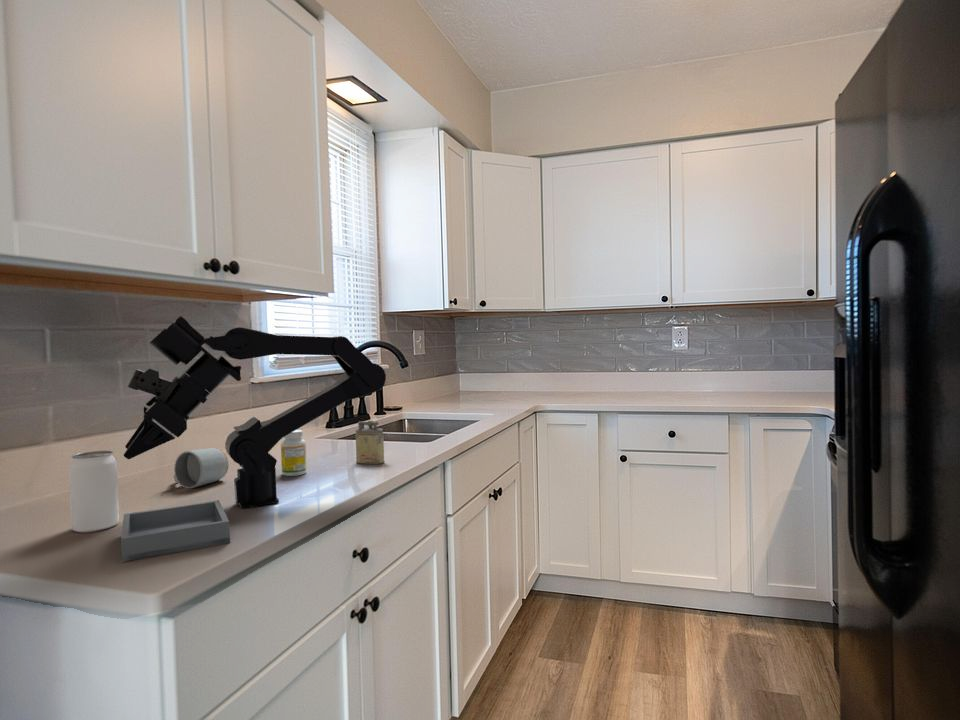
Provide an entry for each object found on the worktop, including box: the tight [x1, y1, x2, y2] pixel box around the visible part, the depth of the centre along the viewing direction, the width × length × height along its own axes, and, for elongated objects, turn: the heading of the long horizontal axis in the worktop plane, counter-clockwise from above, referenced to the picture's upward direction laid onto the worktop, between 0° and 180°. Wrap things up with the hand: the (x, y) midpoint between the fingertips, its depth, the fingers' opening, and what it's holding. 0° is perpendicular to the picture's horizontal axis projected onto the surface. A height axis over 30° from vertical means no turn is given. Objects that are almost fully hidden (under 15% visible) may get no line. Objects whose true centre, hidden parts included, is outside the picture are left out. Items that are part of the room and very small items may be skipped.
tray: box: [120, 500, 231, 563], centre depth 88 cm, size 14×14×3 cm
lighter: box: [355, 420, 385, 465], centre depth 140 cm, size 7×4×10 cm, turn 74°
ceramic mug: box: [173, 447, 229, 489], centre depth 123 cm, size 11×8×8 cm
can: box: [68, 450, 120, 534], centre depth 95 cm, size 6×6×12 cm
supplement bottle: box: [280, 429, 308, 477], centre depth 130 cm, size 5×5×10 cm
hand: (126, 452), depth 97 cm, fingers open, 9 cm apart
